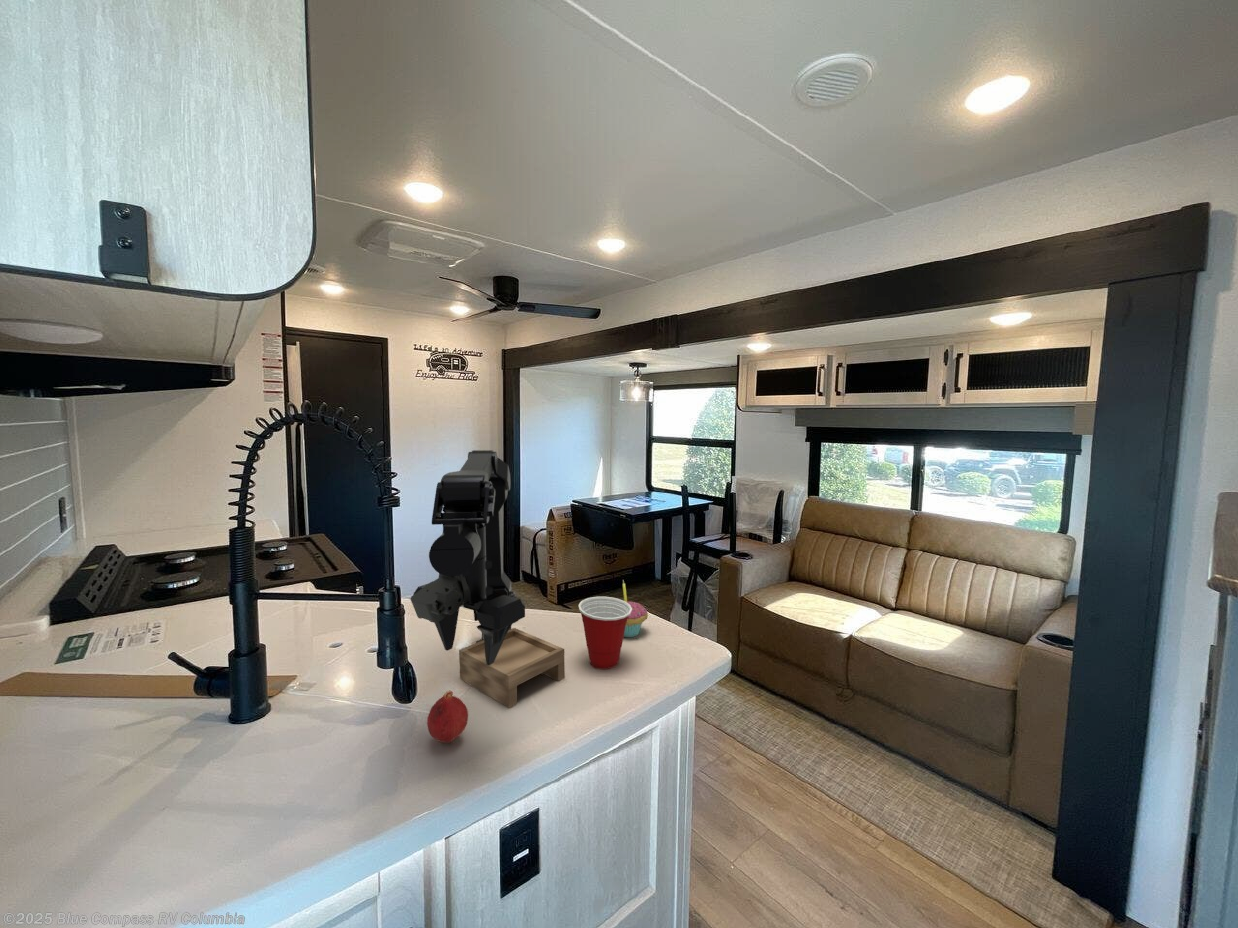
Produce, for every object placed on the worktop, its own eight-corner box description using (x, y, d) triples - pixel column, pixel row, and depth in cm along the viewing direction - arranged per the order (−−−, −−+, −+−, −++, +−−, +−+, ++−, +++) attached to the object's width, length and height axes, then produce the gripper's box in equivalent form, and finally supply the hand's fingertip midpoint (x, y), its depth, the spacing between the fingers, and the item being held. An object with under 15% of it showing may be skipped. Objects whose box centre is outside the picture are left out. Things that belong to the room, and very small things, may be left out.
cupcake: (603, 632, 114) (602, 581, 113) (629, 622, 120) (629, 574, 119) (628, 644, 108) (628, 591, 107) (655, 633, 113) (655, 582, 112)
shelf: (459, 678, 93) (459, 649, 93) (514, 653, 103) (514, 627, 103) (509, 708, 84) (508, 675, 83) (564, 677, 94) (564, 648, 93)
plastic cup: (619, 680, 93) (619, 619, 92) (569, 669, 97) (568, 610, 96) (639, 655, 103) (639, 599, 102) (593, 646, 107) (592, 592, 106)
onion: (445, 759, 71) (443, 707, 70) (419, 745, 74) (418, 695, 73) (476, 737, 76) (475, 688, 75) (451, 725, 79) (450, 677, 78)
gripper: (379, 560, 72) (383, 662, 74) (467, 580, 63) (470, 698, 64) (442, 545, 82) (444, 635, 83) (526, 560, 72) (528, 663, 73)
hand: (468, 656), depth 75 cm, fingers open, 9 cm apart
